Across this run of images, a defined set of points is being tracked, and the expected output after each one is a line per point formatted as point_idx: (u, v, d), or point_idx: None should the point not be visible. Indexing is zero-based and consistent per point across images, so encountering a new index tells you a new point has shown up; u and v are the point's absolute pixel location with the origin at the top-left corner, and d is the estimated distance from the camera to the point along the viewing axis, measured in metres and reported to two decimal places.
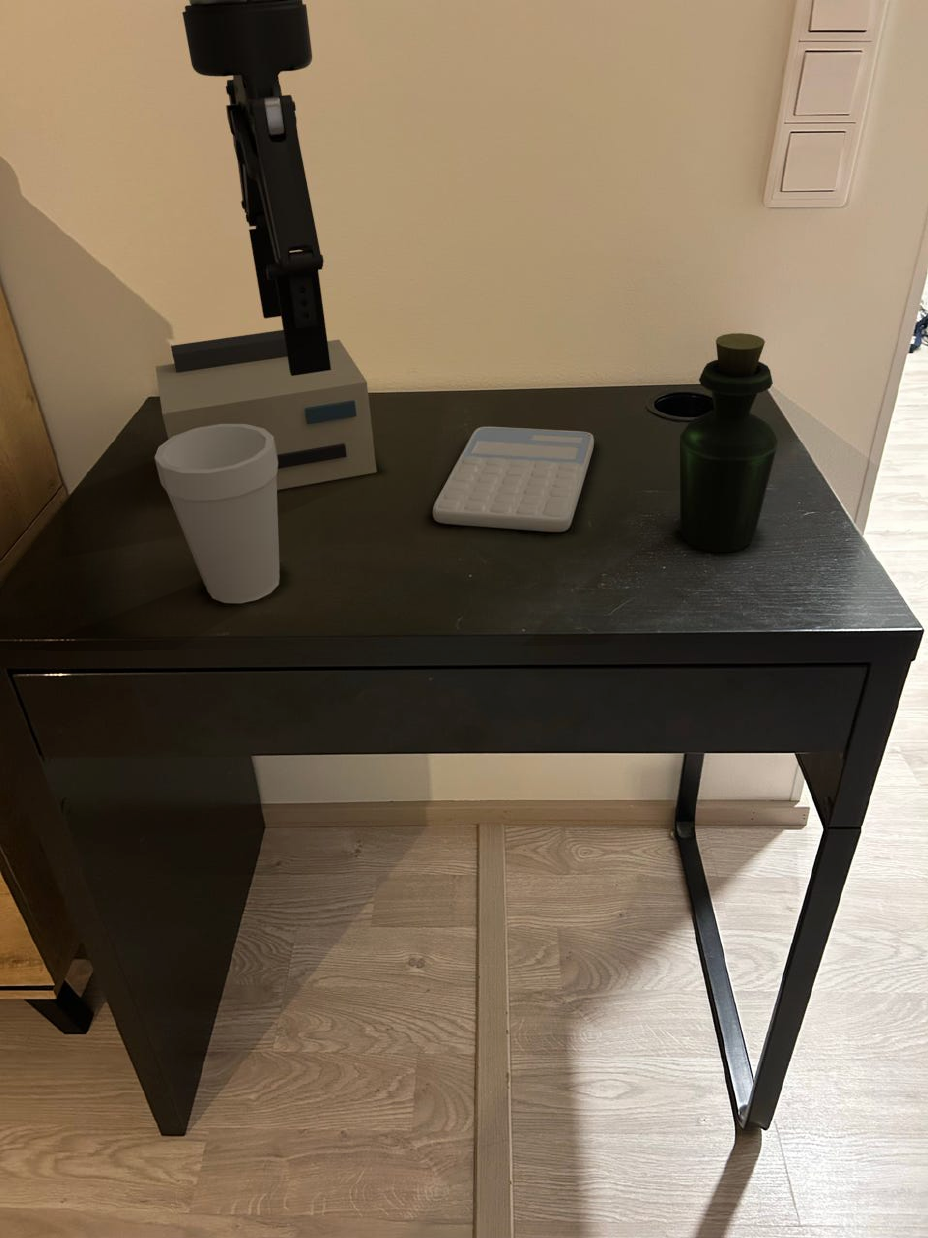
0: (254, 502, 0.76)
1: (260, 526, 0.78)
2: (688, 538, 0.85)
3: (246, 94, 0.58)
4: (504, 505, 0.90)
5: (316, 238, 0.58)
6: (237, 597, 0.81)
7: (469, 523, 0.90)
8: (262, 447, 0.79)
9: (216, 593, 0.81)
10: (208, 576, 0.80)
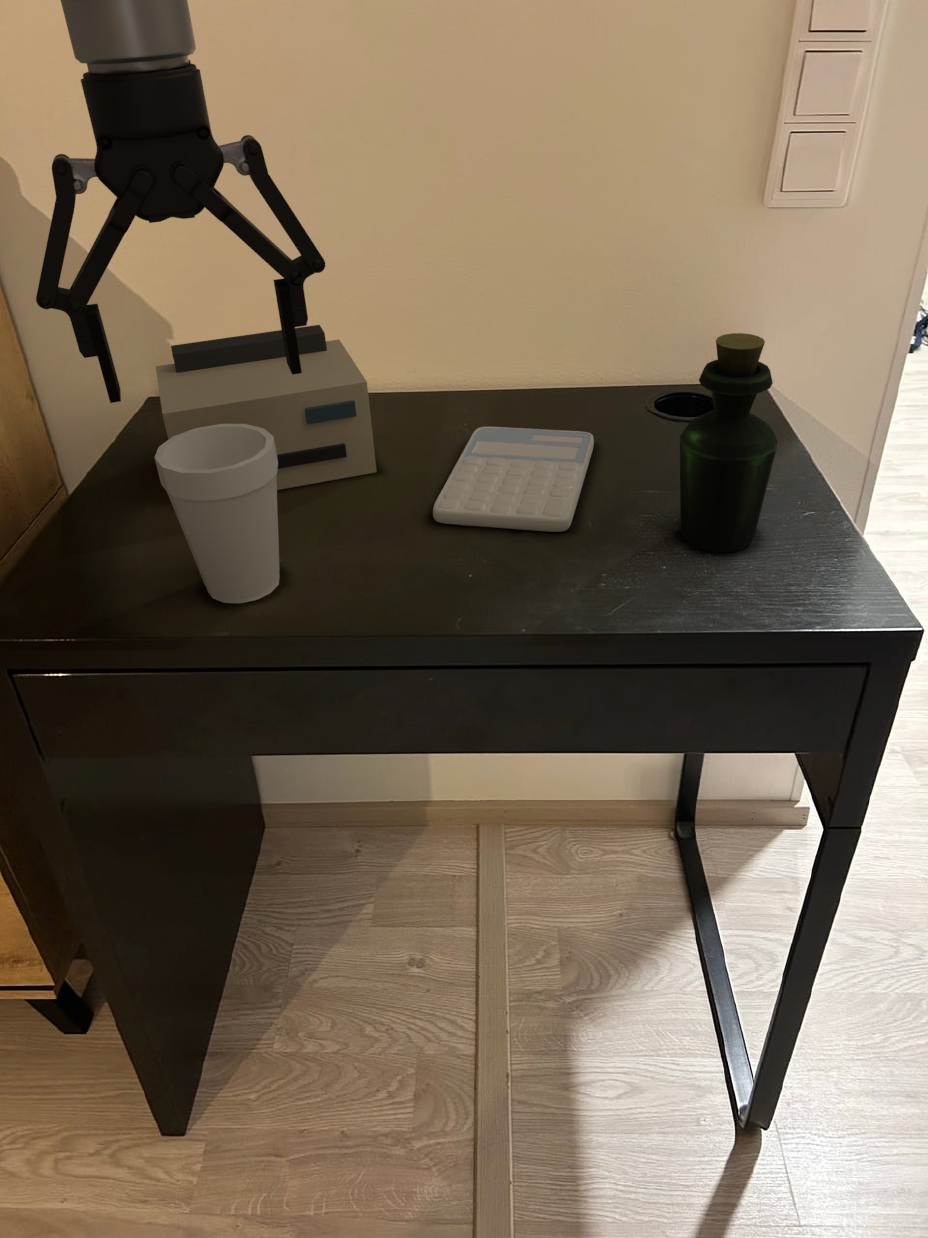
0: (254, 502, 0.76)
1: (260, 526, 0.78)
2: (688, 538, 0.85)
3: (209, 144, 0.64)
4: (504, 505, 0.90)
5: None
6: (237, 597, 0.81)
7: (469, 523, 0.90)
8: (262, 447, 0.79)
9: (216, 593, 0.81)
10: (208, 576, 0.80)
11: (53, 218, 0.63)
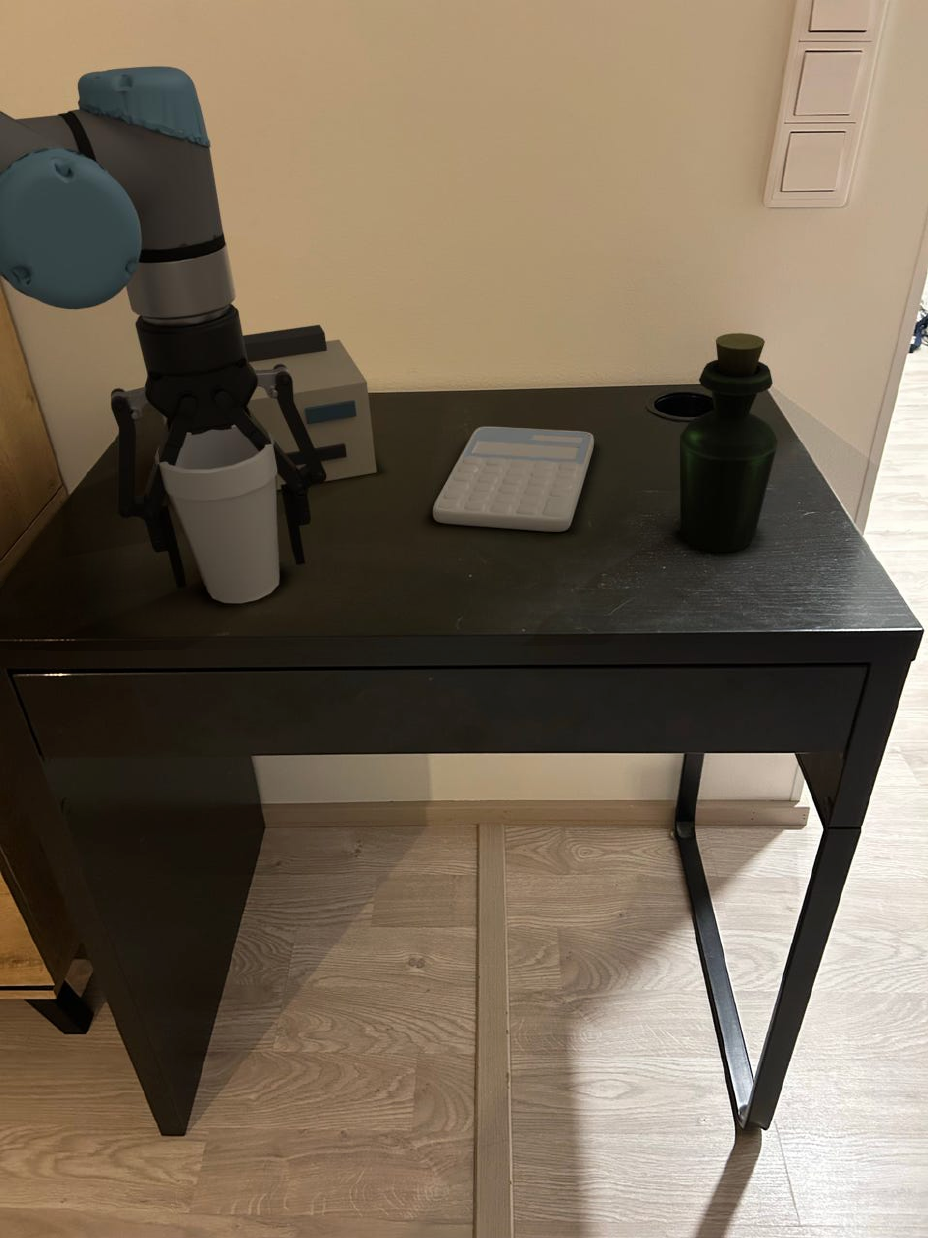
0: (254, 502, 0.76)
1: (260, 526, 0.78)
2: (688, 538, 0.85)
3: (246, 371, 0.73)
4: (504, 505, 0.90)
5: None
6: (237, 597, 0.81)
7: (469, 523, 0.90)
8: None
9: (216, 593, 0.81)
10: (208, 576, 0.80)
11: (120, 446, 0.73)
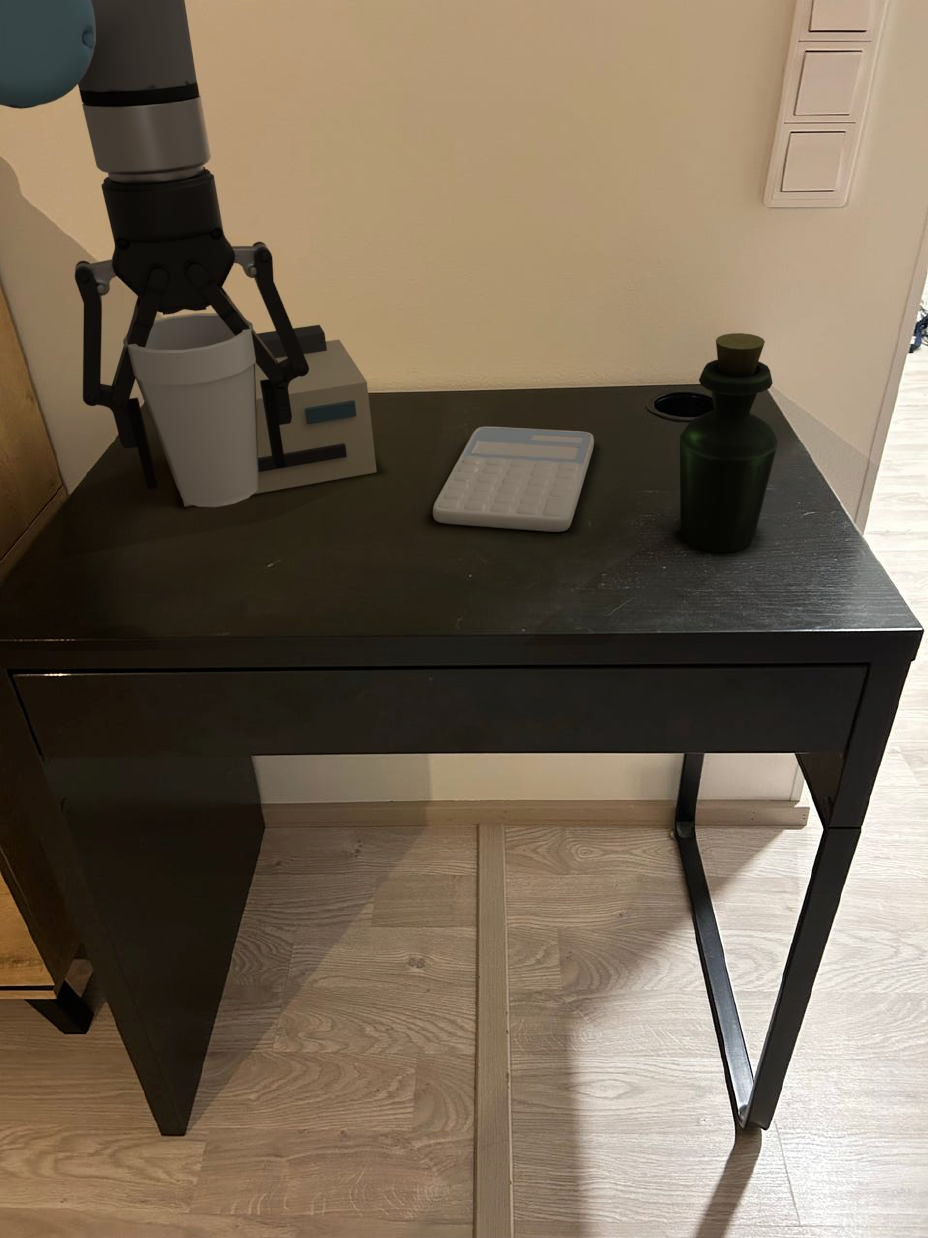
0: (229, 391, 0.71)
1: (237, 419, 0.72)
2: (688, 538, 0.85)
3: (222, 243, 0.68)
4: (504, 504, 0.90)
5: None
6: (212, 500, 0.75)
7: (469, 523, 0.90)
8: None
9: (189, 496, 0.76)
10: (181, 475, 0.75)
11: (84, 323, 0.68)
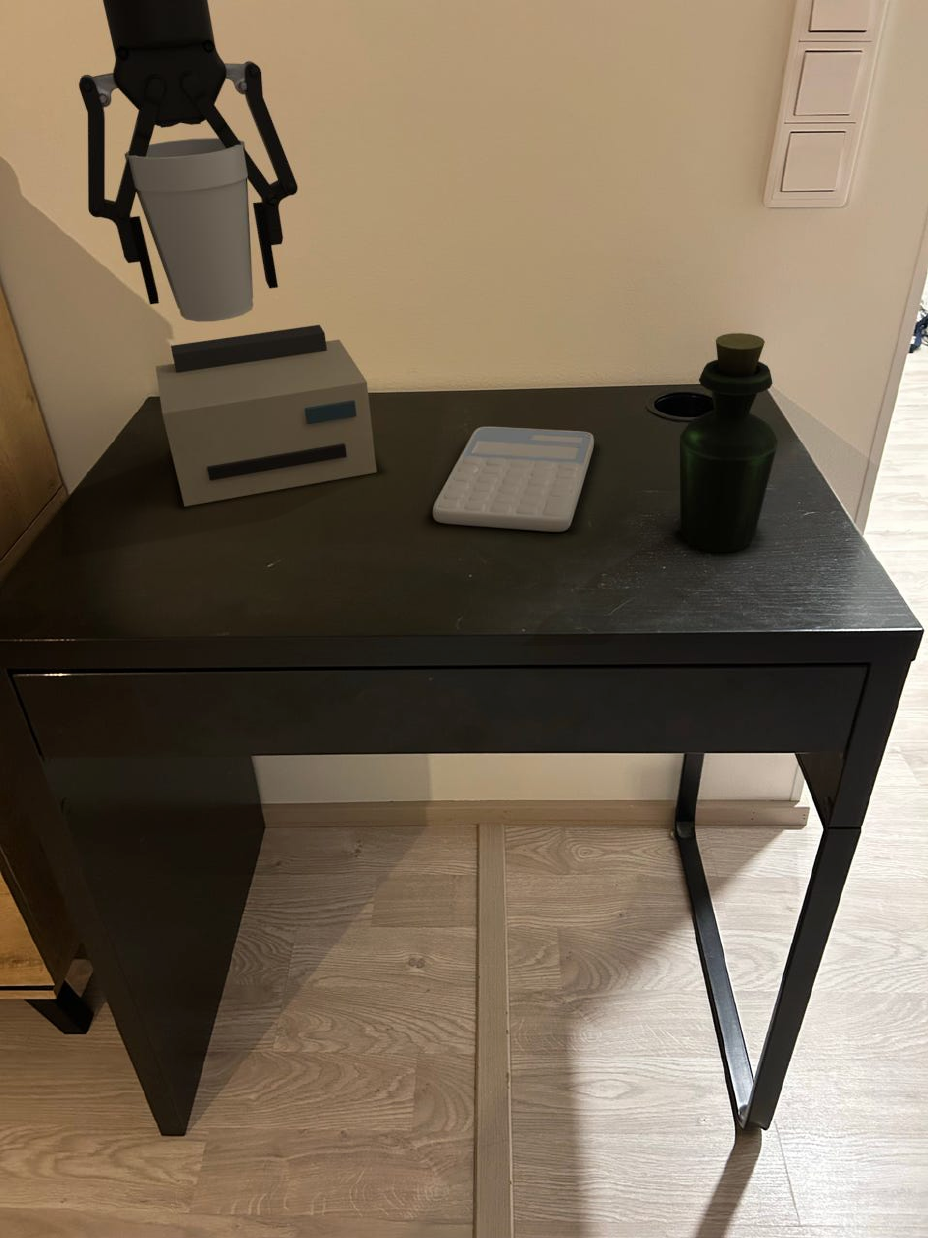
0: (223, 201, 0.76)
1: (230, 231, 0.78)
2: (688, 538, 0.85)
3: (214, 57, 0.73)
4: (504, 505, 0.90)
5: None
6: (209, 314, 0.81)
7: (469, 523, 0.90)
8: None
9: (188, 311, 0.82)
10: (180, 290, 0.80)
11: (89, 132, 0.73)
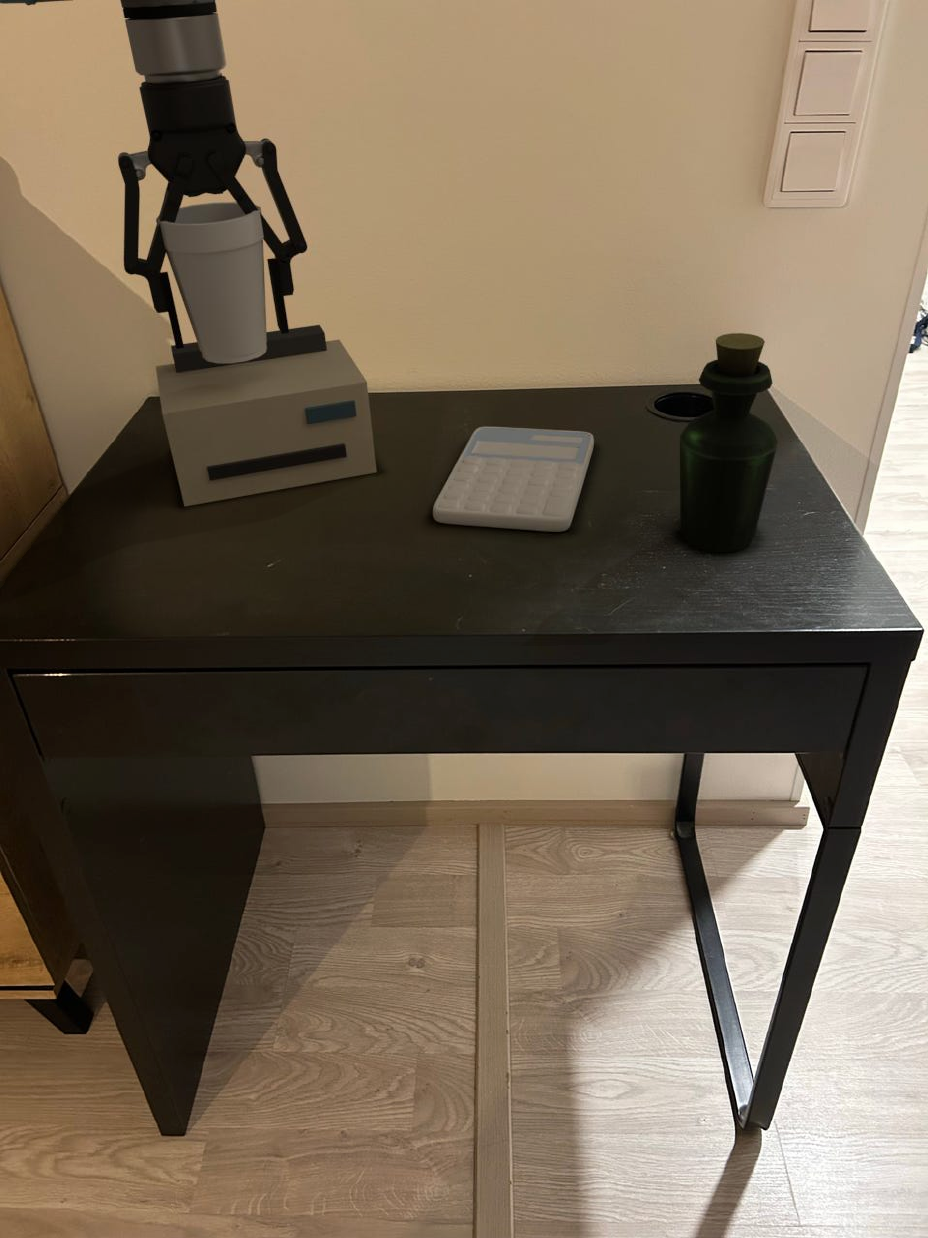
0: (243, 260, 0.87)
1: (248, 286, 0.89)
2: (688, 538, 0.85)
3: (235, 137, 0.84)
4: (504, 505, 0.90)
5: None
6: (229, 357, 0.92)
7: (469, 523, 0.90)
8: None
9: (210, 354, 0.92)
10: (203, 336, 0.91)
11: (126, 202, 0.84)
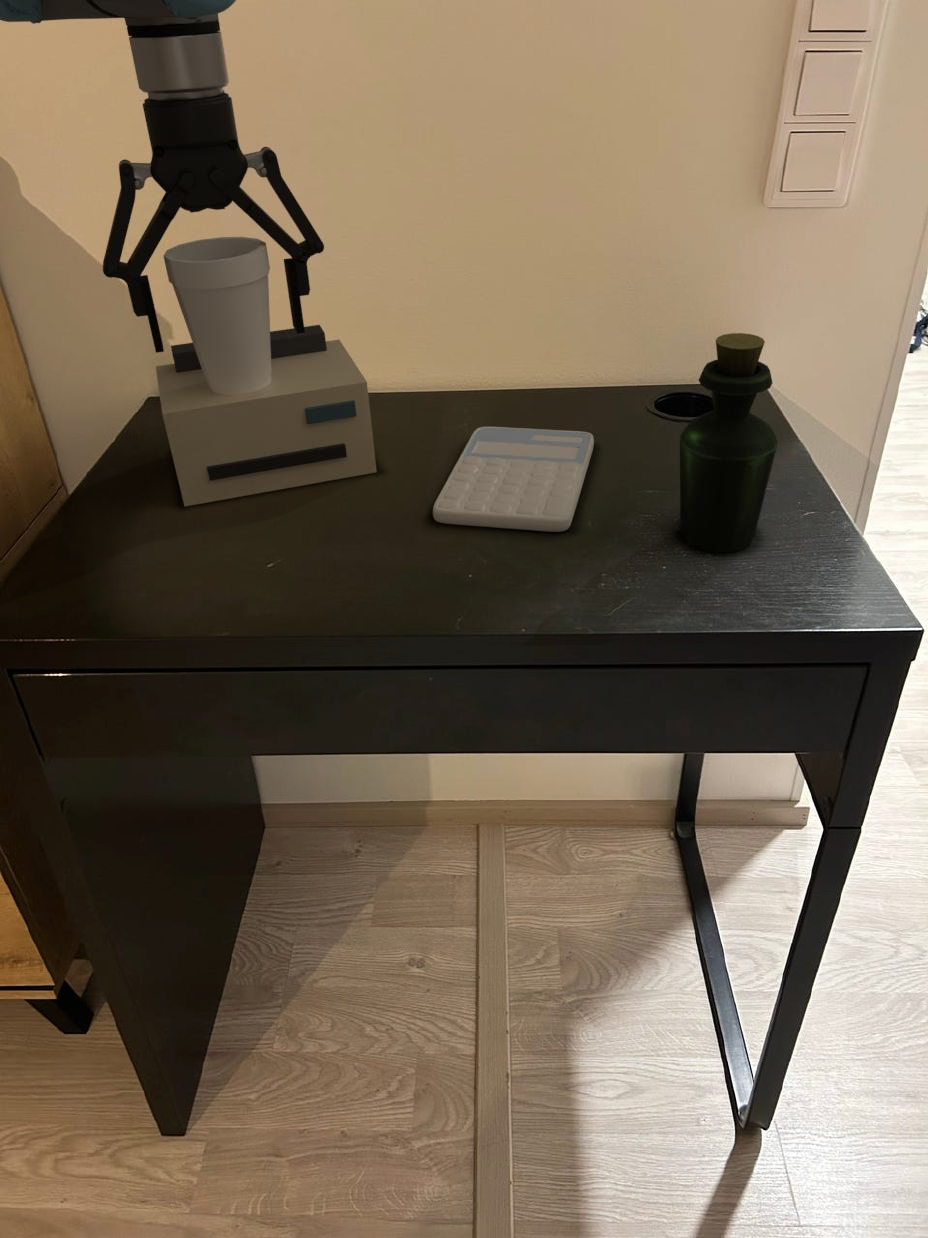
0: (248, 295, 0.89)
1: (254, 320, 0.90)
2: (688, 538, 0.85)
3: (237, 153, 0.84)
4: (504, 505, 0.90)
5: None
6: (234, 388, 0.94)
7: (469, 523, 0.90)
8: None
9: (216, 385, 0.94)
10: (209, 368, 0.93)
11: (118, 207, 0.84)
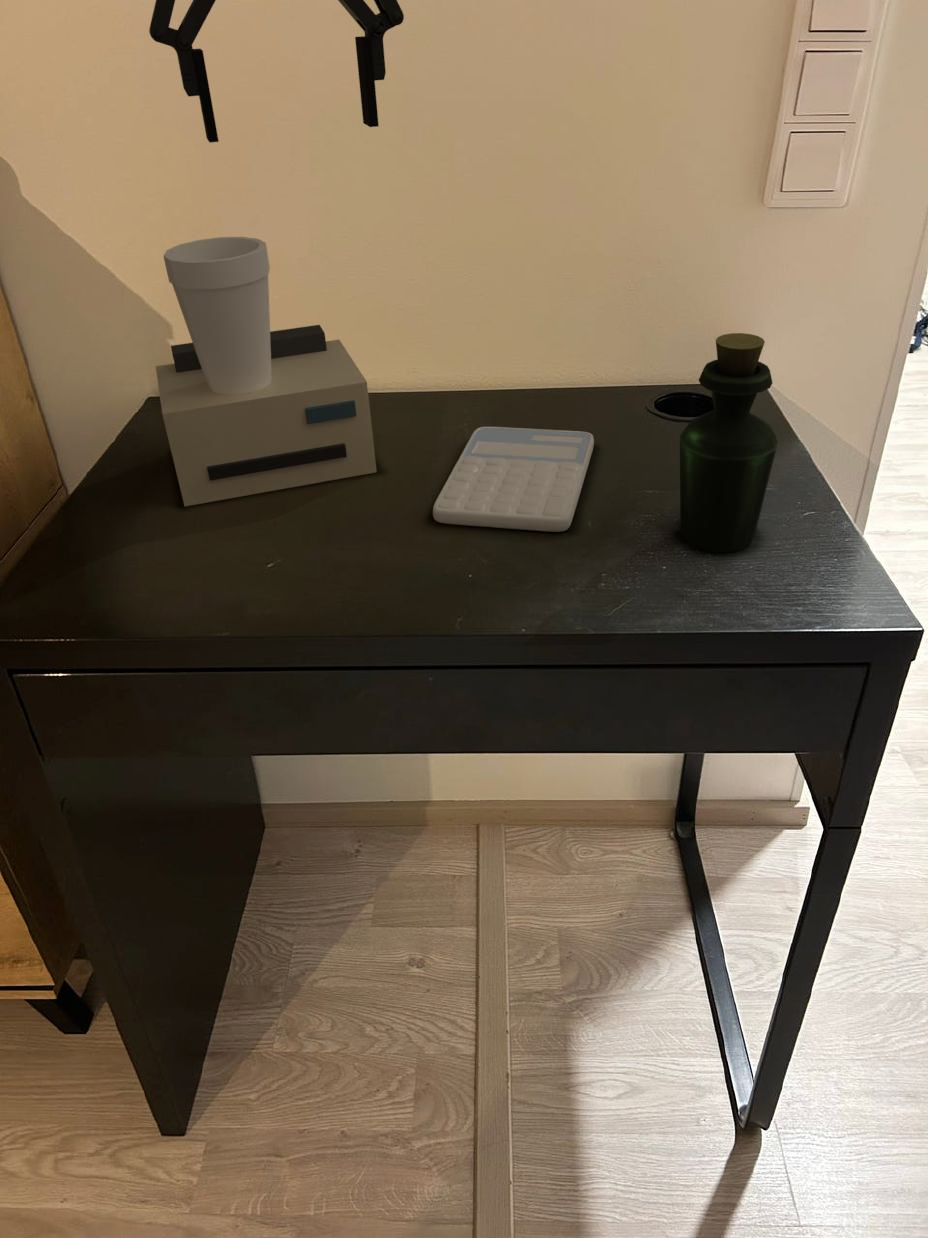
0: (248, 295, 0.89)
1: (254, 320, 0.90)
2: (688, 538, 0.85)
3: None
4: (504, 505, 0.90)
5: None
6: (234, 388, 0.94)
7: (469, 523, 0.90)
8: None
9: (216, 385, 0.94)
10: (209, 368, 0.93)
11: None
